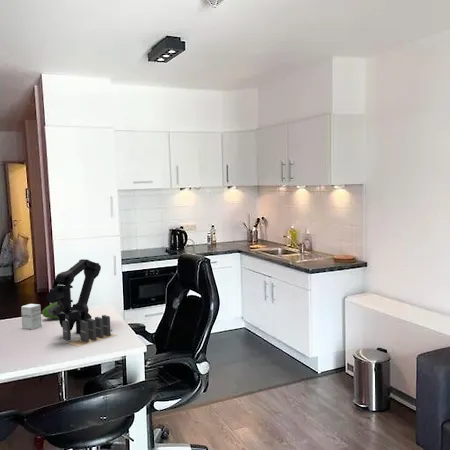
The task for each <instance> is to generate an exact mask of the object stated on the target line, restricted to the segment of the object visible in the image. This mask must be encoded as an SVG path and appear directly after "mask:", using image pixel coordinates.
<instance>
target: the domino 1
mask: <svg viewBox="0 0 450 450" xmlns="http://www.w3.org/2000/svg"><path fill="white" fill-rule="evenodd" d="M61 328H62V339H63V340H65V341H69V342H70V341H71V340H72V337H71V336H72V333H71V332H72V330H69V325H68V321H67V320H66V319H65V320H63V321H62V327H61Z"/></svg>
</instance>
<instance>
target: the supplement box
mask: <svg viewBox="0 0 450 450" xmlns="http://www.w3.org/2000/svg"><path fill="white" fill-rule="evenodd" d="M20 307H21V312H20V313H21V328H22V329H24V330H35V329H38V328H40V327H42V311H41V307H42V306H41V304H39V303H38V304H37V303H28V304H25V305H22V306H20Z"/></svg>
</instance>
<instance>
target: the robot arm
mask: <svg viewBox="0 0 450 450" xmlns="http://www.w3.org/2000/svg"><path fill="white" fill-rule="evenodd" d="M101 268H102V266H101V265H100V263H99V262H94V261H91V260H90V259H85V258H84V259H79V260H78V262H76V263H75V264H74V265H72V266H71V267H70V268H69V269H67V270H65V271H61V272H59V273H57V274H56V276H55V278H54V281H53V283H52V286H51V288H50V289H49V291H48V292H47V294H46V300H47V302H48V303H50V304H52V303H55V302H57V304H56V305H54V306H53V307H51V308H49V309H48V312H49V314H50V315H51V316H57V317H58V322H59V325H60V327H61V328H63V327H62V321H63V320H67V321H68V325H69V330H71V331H72V330H73V328H74V326H75V334H76V335H81V334H80V321H82V320H83V321H86V322H87V319H93V318H92V315H91V314H90V313H89V307H88V303H89V299H90V295H91V292H92V288H93V285H94V282H95V279H96V278H97V277H99V275H100V273H101ZM82 271H83V274H84V280H83V283H82V287H81V290H80V292H79V297H78V300H77V302H76V303H73V299H72V295H71V292H72V291H71V289H73V288H74V286H73V285H72V283H73V282H74V281H75V277H77V276H78V275H79V274H80V273H81V272H82ZM72 303H73V304H72Z"/></svg>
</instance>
